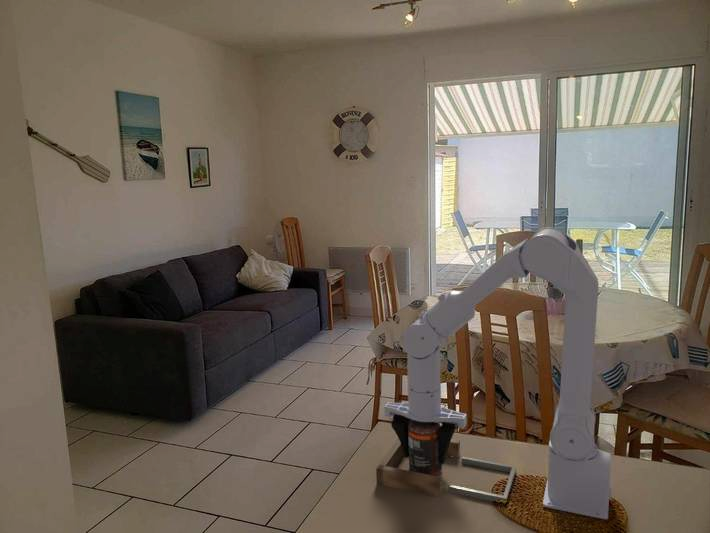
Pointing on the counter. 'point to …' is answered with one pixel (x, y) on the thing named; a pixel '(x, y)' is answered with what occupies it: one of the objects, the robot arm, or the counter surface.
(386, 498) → the counter surface
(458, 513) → the counter surface
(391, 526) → the counter surface
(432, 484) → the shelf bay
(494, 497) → the slate bracket
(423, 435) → the supplement bottle
